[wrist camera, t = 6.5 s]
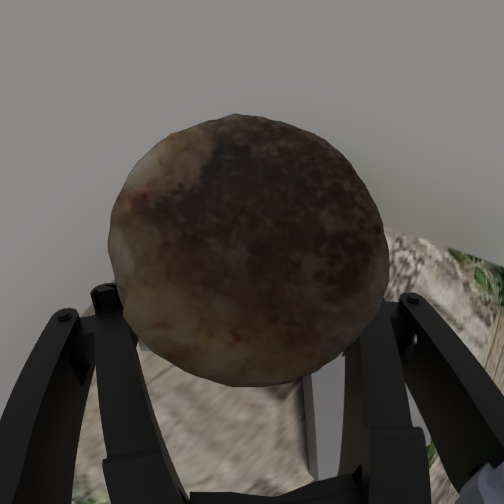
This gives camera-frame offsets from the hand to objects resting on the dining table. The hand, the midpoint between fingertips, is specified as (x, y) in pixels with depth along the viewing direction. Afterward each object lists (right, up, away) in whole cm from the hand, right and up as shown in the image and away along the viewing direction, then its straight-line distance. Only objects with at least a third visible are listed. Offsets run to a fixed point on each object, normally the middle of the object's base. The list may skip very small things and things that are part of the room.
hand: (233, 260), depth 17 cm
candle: (-1, -7, +7) cm, 10 cm away
